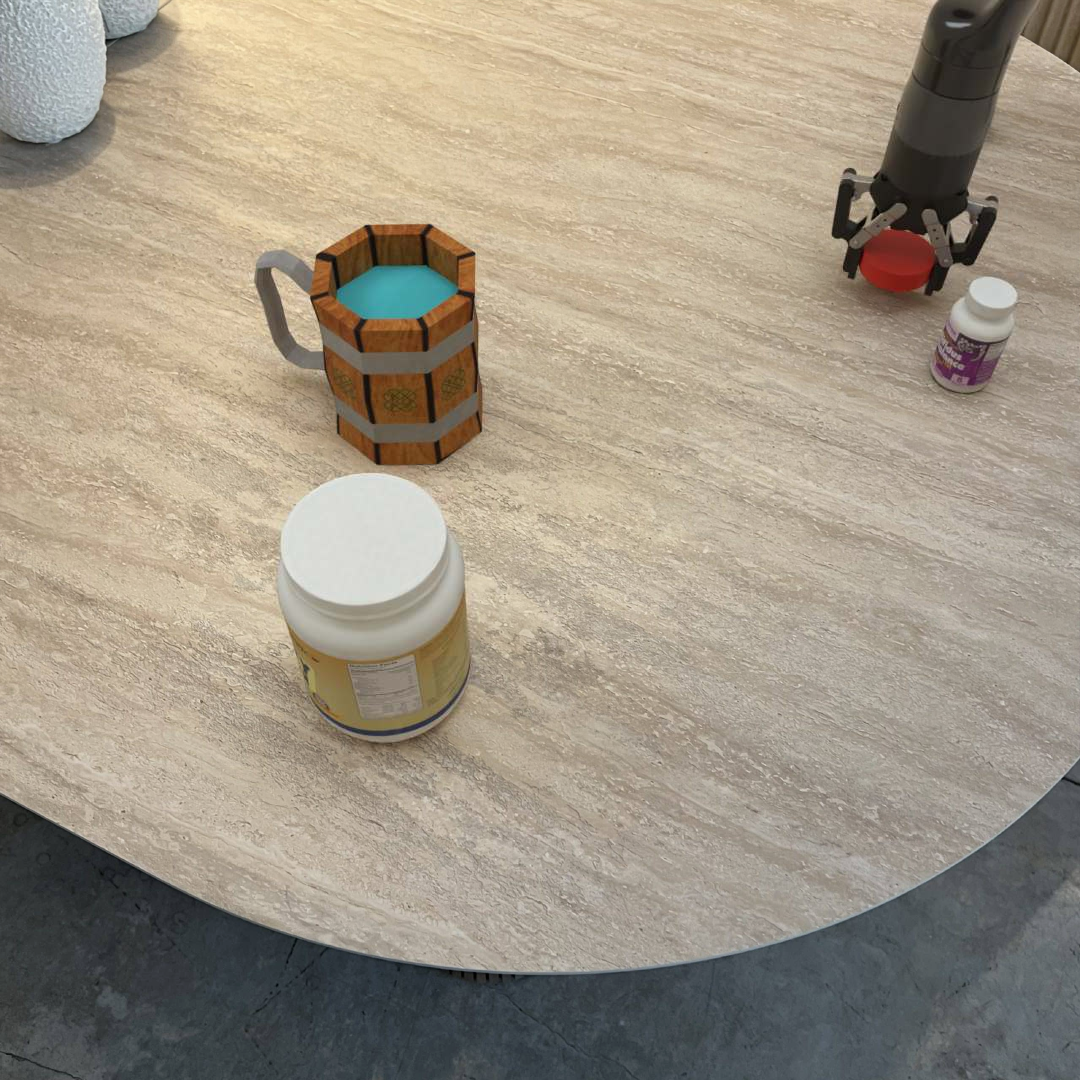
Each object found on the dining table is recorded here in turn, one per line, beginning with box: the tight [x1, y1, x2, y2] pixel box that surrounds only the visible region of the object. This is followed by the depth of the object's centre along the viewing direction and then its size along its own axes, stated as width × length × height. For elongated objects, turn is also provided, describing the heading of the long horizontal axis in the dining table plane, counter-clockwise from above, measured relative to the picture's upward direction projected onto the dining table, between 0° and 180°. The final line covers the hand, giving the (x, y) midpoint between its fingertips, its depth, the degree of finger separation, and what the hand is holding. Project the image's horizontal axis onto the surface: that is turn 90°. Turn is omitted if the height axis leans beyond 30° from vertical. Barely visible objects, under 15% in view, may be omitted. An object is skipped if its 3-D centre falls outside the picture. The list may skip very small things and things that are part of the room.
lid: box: [858, 228, 936, 293], centre depth 107 cm, size 7×7×2 cm
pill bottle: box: [930, 276, 1018, 394], centre depth 100 cm, size 5×5×10 cm
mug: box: [253, 223, 483, 466], centre depth 95 cm, size 20×14×15 cm
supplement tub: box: [276, 472, 472, 743], centre depth 77 cm, size 12×12×17 cm
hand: (890, 281), depth 109 cm, fingers closed on lid, 6 cm apart
